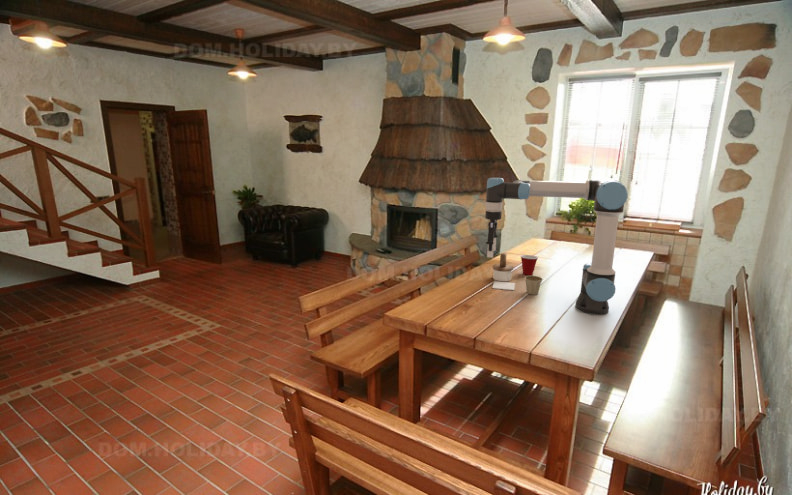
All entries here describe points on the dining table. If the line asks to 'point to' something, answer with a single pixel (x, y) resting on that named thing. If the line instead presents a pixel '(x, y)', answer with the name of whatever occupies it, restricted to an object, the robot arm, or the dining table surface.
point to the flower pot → (533, 284)
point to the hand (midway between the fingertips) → (491, 253)
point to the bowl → (502, 275)
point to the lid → (502, 264)
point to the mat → (503, 285)
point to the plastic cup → (528, 264)
